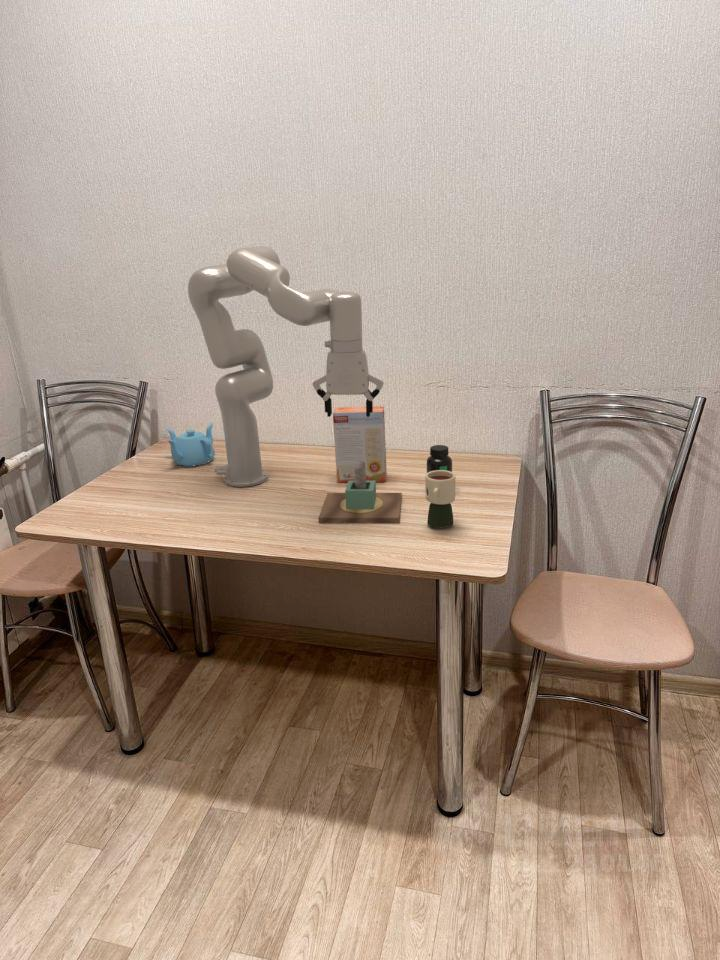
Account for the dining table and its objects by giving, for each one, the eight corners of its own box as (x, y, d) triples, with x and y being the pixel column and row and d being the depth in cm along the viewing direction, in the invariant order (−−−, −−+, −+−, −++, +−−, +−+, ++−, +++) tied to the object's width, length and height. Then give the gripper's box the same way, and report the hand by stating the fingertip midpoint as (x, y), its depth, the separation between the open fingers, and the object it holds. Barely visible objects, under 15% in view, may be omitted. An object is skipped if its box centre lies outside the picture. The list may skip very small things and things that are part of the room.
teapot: (217, 466, 214) (214, 434, 211) (168, 471, 212) (163, 439, 208) (217, 451, 228) (213, 421, 224) (170, 456, 225) (165, 426, 221)
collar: (346, 509, 175) (345, 490, 173) (349, 498, 181) (348, 480, 179) (373, 509, 174) (372, 490, 172) (376, 498, 180) (375, 480, 178)
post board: (318, 523, 172) (315, 475, 167) (327, 498, 187) (324, 453, 182) (399, 523, 170) (398, 474, 165) (401, 497, 184) (400, 452, 180)
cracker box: (387, 475, 201) (384, 405, 193) (385, 482, 195) (383, 411, 188) (339, 475, 202) (335, 406, 195) (336, 483, 197) (332, 412, 189)
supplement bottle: (449, 495, 185) (449, 452, 181) (424, 492, 187) (423, 450, 183) (454, 485, 191) (454, 444, 187) (430, 483, 193) (429, 442, 189)
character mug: (431, 514, 174) (431, 466, 169) (459, 517, 171) (460, 468, 166) (420, 532, 164) (419, 481, 159) (449, 536, 162) (449, 484, 157)
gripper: (308, 349, 162) (312, 419, 169) (381, 349, 160) (382, 419, 167) (313, 343, 169) (316, 410, 175) (384, 342, 167) (384, 411, 174)
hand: (349, 415), depth 171 cm, fingers open, 9 cm apart
